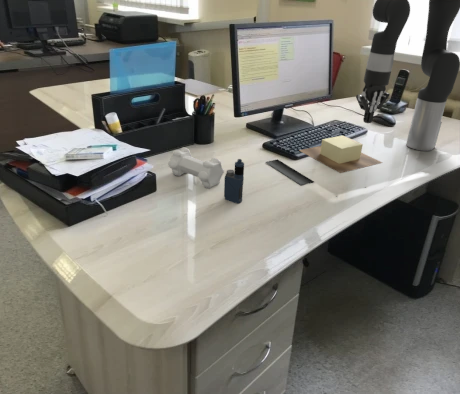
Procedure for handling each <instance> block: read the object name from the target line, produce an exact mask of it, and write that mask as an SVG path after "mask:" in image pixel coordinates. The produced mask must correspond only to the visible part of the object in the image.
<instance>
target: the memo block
mask: <svg viewBox="0 0 460 394" xmlns="http://www.w3.org/2000/svg"><path fill="white" fill-rule="evenodd" d="M363 145H364V144H363V143H360V142H358V141H356V140H354V139H352V138H350V137H348V136H345V135H337V136H334V137H328V138H327V137H326V138H323V139H321V145H320V146H321V151H320V154H321V155H323V156H325V157H327V158H329V159H331V160H333V161H335V162H337V163H339V164H340V163H344V162H349V161H353V160H357V159H360V156H361V153H362V150H363Z"/></svg>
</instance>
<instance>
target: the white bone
mask: <svg viewBox="0 0 460 394" xmlns="http://www.w3.org/2000/svg"><path fill="white" fill-rule="evenodd" d="M167 164H168V167H169V168H171V173H172V174H173V175H174V176H176V177H181V176H182V175H183V174H189V175H192V176H194V177H197V178H198V179H199V180H200V181H201V185H202V187H204V188H206V189H211V188H212V187H214V186H218V185H219V184H220V183H221V179H222V176H223V174H224V173H225V169H224V167H222V161H221V160H220V159H219V158H216V157H212V158H211V159H210V160H206V161H204V160H201V159H199V158H195V157H193V156H192V154H191V151H190V149H189V148H187V147H184V146H183V147H181V148H180V149H175V150H173V151H172V155H171V158H170V159H169V161H168V163H167Z"/></svg>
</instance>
